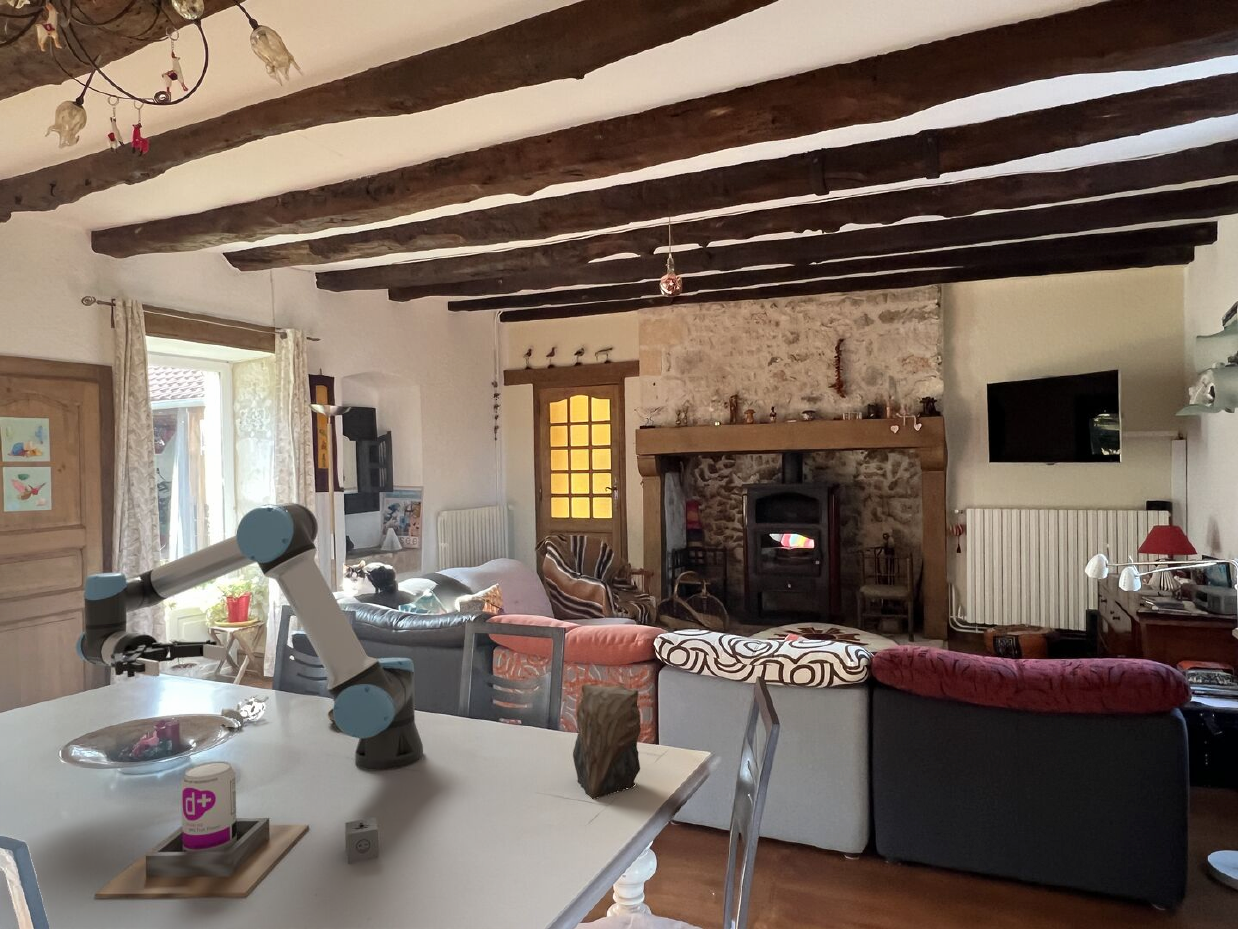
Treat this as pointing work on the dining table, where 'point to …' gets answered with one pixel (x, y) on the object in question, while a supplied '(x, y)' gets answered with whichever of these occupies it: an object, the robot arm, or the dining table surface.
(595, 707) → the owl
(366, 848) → the dice cube
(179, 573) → the robot arm
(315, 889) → the dining table surface
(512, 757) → the dining table surface
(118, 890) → the collar board
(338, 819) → the dining table surface
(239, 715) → the figurine
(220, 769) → the supplement can
